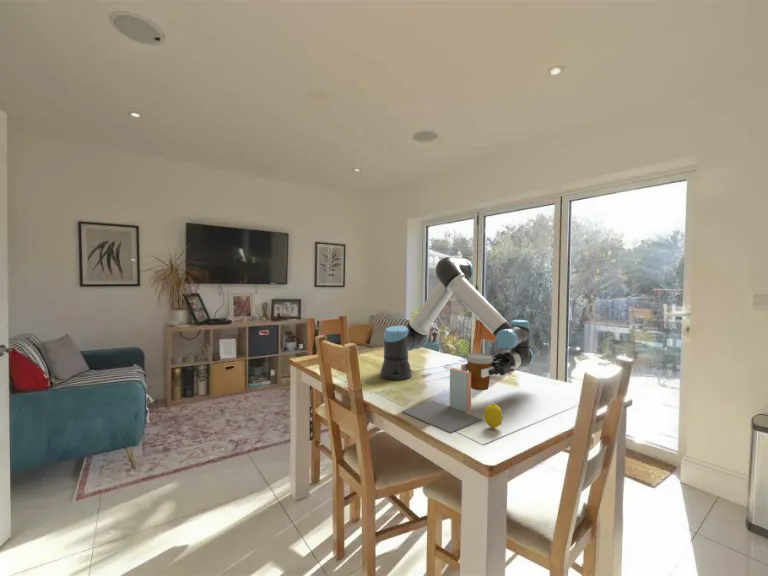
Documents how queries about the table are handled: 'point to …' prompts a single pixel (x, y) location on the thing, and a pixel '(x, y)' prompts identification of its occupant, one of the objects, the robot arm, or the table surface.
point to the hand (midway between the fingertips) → (471, 371)
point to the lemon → (493, 416)
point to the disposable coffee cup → (479, 369)
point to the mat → (442, 416)
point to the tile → (460, 390)
